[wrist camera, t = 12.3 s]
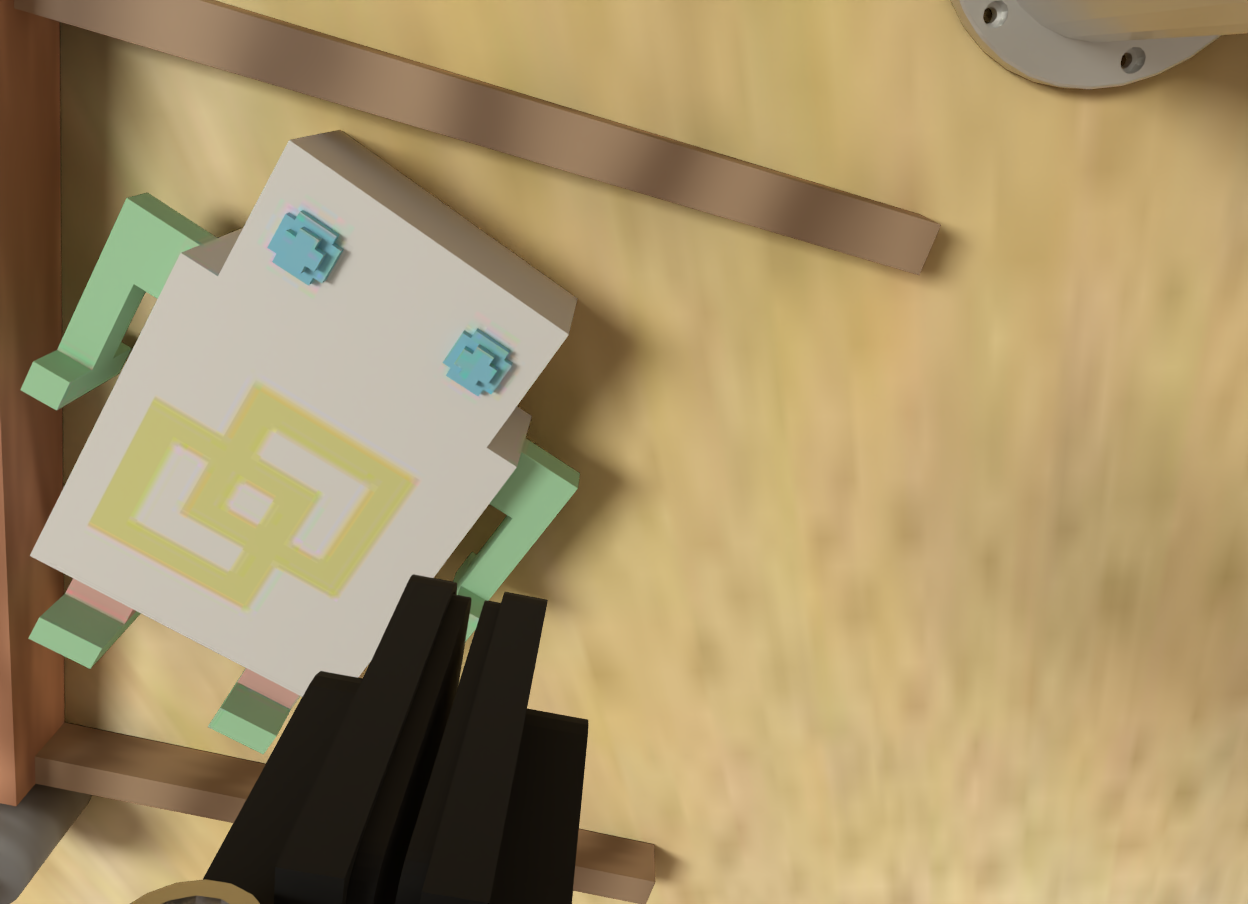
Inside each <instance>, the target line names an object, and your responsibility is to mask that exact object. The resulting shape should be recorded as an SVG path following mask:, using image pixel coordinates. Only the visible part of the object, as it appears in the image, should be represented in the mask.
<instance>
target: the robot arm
mask: <svg viewBox="0 0 1248 904" xmlns="http://www.w3.org/2000/svg"><path fill="white" fill-rule="evenodd" d="M950 1H951V3H952V5H953V7H954V9H955V11H956V13H957V15H958V17H959V19H960V21H961V23H962V25H963V27H964V28H965V29H966V30H967V32H968V33H969V34H970V35H971V37H972V38H973V39H974V40H975V42H976V43H977V44H978V45H979V47H980V48H981V49H982V50H983V51H984V52H985V53H986V54H988V55H989V56H990V57H991V58H993V59H994V60H995V61H997V62H998V63H999V64H1000V65H1002V66H1003V67H1004V68H1005V69H1007V70H1009V71H1011V72H1013V73H1015V74H1018V75H1020V76H1022V77H1024V78H1026V79H1028V80H1031V81H1033V82H1036V83H1041V84H1046V85H1051V86H1055V87H1060V88H1077V89H1097V88H1106V87H1115V86H1123V85H1127V84H1130V83H1133V82H1136V81H1140V80H1143V79H1146V78H1149V77H1153V76H1156V75H1158V74H1160V73H1162V72H1164V71H1166V70H1168V69H1170V68H1172V67H1174V66H1176V65H1178V64H1180V63H1182V62H1184V61H1186V60H1188V59H1190V58H1191V57H1193V56H1194V55H1195V54H1197V53H1198V52H1199V51H1201V50H1202V49H1204V48H1205V47H1206V46H1208V45H1209V44H1211V43H1212V42H1213V41H1215V40H1216V39H1218V38H1219V37H1220V36H1222V35H1227V34H1243V33H1248V0H950ZM987 8H989V9H990V10H991V11H992V19H991V20H990V22H988V23H987V24H986V23H985V22H984V19H983V15H984V11H985V9H987ZM1123 55H1125V57H1126V61H1125V64H1124V65H1123V66H1122V67H1121V64H1120V63H1121V59H1122V56H1123ZM547 601H548V600H545V599H540V598H535V597H530V596H524V595H519V594H514V593H509V592H505V593H504V596H503V599H502V602H501V603H497V602H492V601H487V600H485V601H484V604H483V607H482V611H481V614H480V617H479V620H478V624H477V627H476V630H475V633H474V637H473V640H472V643H471V646H470V650H469V653H468V656H467V659H466V663H465V666H464V669H463V672H462V676H461V679H460V682H459V678H460V671H461V665H462V659H463V653H464V646H465V640H466V634H467V627H468V621H469V615H470V608H471V597H466V596H461V595H457V583H456V582H451V581H446V580H441V579H436V578H430V577H425V576H420V575H415V574H413V575H412V576H411V577H410V579H409V580H408V583H407V585H406V587H405V589H404V591H403V593H402V596H401V598H400V600H399V602H398V604H397V606H396V608H395V611H394V613H393V615H392V617H391V619H390V621H389V623H388V626H387V628H386V630H385V632H384V634H383V636H382V639H381V641H380V643H379V645H378V647H377V649H376V651H375V654H374V656H373V658H372V660H371V662H370V664H369V667H368V669H367V671H366V673H365V675H364V677H363V679H362V678H357V677H352V676H346V675H341V674H335V673H330V672H324V671H320V672H319V673H317V674H316V675H315V677H314V678H313V680H312V681H311V683H310V684H309V686H308V688H307V690H306V691H305V693H304V695H303V697H302V699H301V701H300V702H299V704H298V706H297V708H296V710H295V712H294V713H293V715H292V717H291V719H290V721H289V723H288V724H287V726H286V728H285V730H284V732H283V734H282V735H281V737H280V739H279V741H278V743H277V745H276V746H275V748H274V750H273V752H272V754H271V756H270V757H269V759H268V761H267V763H266V765H265V767H264V768H263V770H262V772H261V774H260V776H259V777H258V779H257V781H256V783H255V785H254V787H253V788H252V790H251V792H250V794H249V796H248V798H247V799H246V801H245V803H244V805H243V807H242V809H241V810H240V812H239V814H238V816H237V818H236V820H235V821H234V823H233V825H232V827H231V829H230V831H229V832H228V834H227V836H226V838H225V840H224V842H223V843H222V845H221V847H220V849H219V851H218V853H217V854H216V856H215V858H214V860H213V862H212V864H211V865H210V867H209V869H208V871H207V873H206V875H205V876H204V878H203V880H196V881H187V882H179V883H174V884H171V885H169V886H166V887H163V888H160V889H158V890H155V891H152V892H149V893H147V894H145V895H143V896H142V897H140V898H139V899H137V900H135V901H134V902H132V903H130V904H572V895H573V884H574V874H575V863H576V853H577V842H578V832H579V821H580V811H581V800H582V790H583V779H584V769H585V758H586V748H587V737H588V720H587V719H581V718H576V717H570V716H565V715H559V714H554V713H548V712H543V711H537V710H532V709H527V705H528V700H529V695H530V689H531V684H532V679H533V674H534V669H535V663H536V658H537V653H538V648H539V643H540V637H541V632H542V627H543V622H544V617H545V611H546V606H547ZM458 684H459V685H458Z"/></svg>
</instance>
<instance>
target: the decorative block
mask: <svg viewBox="0 0 1248 904" xmlns="http://www.w3.org/2000/svg"><path fill="white" fill-rule="evenodd" d="M145 292H147V293H149V294H151V295H152V296H154V297H156V298H157V301H156V303H155V305H154V307H153V309H152V311H151V313H150V315H149V317H148V319H147V321H146V323H145V325H144V327H143V329H142V331H141V333H140V335H139V337H138V339H137V341H136V343H135V345H134V347H133V349H132V348H130V347H129V346H127V345H125V344H124V343H122V342H121V341H122V339H123V337H124V335H125V333H126V331H127V329H128V327H129V324H130V322H131V320H132V318H133V316H134V314H135V312H136V310H137V308H138V306H139V304H140V302H141V300H142V298H143V296H144V294H145ZM576 303H577V298H576V297H575V296H573V295H572V294H570V293H569V292H568V291H566V290H565V289H563V288H562V287H561V286H559V285H558V284H556V283H555V282H554V281H552V280H551V279H549V278H548V277H547V276H545V275H544V274H542V273H541V272H539V271H538V270H537V269H535V268H534V267H532V266H531V265H530V264H528V263H527V262H525V261H524V260H523V259H521V258H520V257H518V256H517V255H516V254H514V253H513V252H511V251H510V250H509V249H507V248H506V247H504V246H503V245H502V244H500V243H499V242H497V241H496V240H494V239H493V238H492V237H490V236H489V235H487V234H486V233H485V232H483V231H482V230H480V229H479V228H478V227H476V226H475V225H473V224H472V223H471V222H469V221H468V220H466V219H465V218H464V217H462V216H461V215H459V214H458V213H457V212H455V211H454V210H452V209H451V208H449V207H448V206H447V205H445V204H444V203H442V202H441V201H440V200H438V199H437V198H435V197H434V196H433V195H431V194H430V193H428V192H427V191H426V190H424V189H423V188H421V187H420V186H419V185H417V184H416V183H414V182H413V181H412V180H410V179H409V178H407V177H406V176H404V175H403V174H402V173H400V172H399V171H397V170H396V169H395V168H393V167H392V166H390V165H389V164H388V163H386V162H385V161H383V160H382V159H381V158H379V157H378V156H376V155H375V154H374V153H372V152H371V151H369V150H368V149H367V148H365V147H364V146H362V145H361V144H359V143H358V142H357V141H355V140H354V139H352V138H351V137H350V136H348V135H347V134H345V133H344V132H343V131H341V130H337V131H332V132H327V133H322V134H317V135H312V136H307V137H302V138H297V139H292V140H289V141H288V143H287V145H286V147H285V149H284V151H283V153H282V155H281V157H280V159H279V161H278V162H277V164H276V166H275V168H274V170H273V172H272V174H271V176H270V178H269V180H268V182H267V184H266V185H265V187H264V189H263V191H262V193H261V195H260V197H259V199H258V201H257V203H256V205H255V206H254V208H253V210H252V212H251V214H250V216H249V218H248V220H247V222H246V224H245V226H244V227H243V228H241V229H239V230H236V231H234V232H231V233H229V234H226V235H224V236H221V237H219V238H217V237H215V236H213V235H212V234H210V233H209V232H207V231H206V230H204V229H203V228H201V227H200V226H198V225H197V224H195V223H193V222H192V221H190V220H189V219H187V218H186V217H184V216H183V215H181V214H180V213H178V212H177V211H175V210H173V209H172V208H170V207H169V206H167V205H166V204H164V203H163V202H161V201H160V200H158V199H157V198H155V197H153V196H152V195H150V194H149V193H144V194H140V195H136V196H132V197H128V198H126V200H125V203H124V205H123V207H122V209H121V211H120V213H119V216H118V218H117V220H116V222H115V224H114V227H113V229H112V231H111V233H110V235H109V238H108V240H107V242H106V244H105V246H104V248H103V251H102V253H101V255H100V257H99V259H98V262H97V264H96V266H95V268H94V270H93V272H92V275H91V277H90V279H89V281H88V283H87V286H86V288H85V290H84V292H83V294H82V297H81V299H80V301H79V303H78V305H77V307H76V310H75V312H74V314H73V316H72V318H71V321H70V323H69V325H68V327H67V329H66V331H65V334H64V336H63V338H62V340H61V342H60V345H59V347H58V349H57V350H56V351H54V352H52V353H50V354H47V355H45V356H43V357H41V358H39V359H37V360H35V361H33V363H32V365H31V367H30V370H29V372H28V374H27V376H26V379H25V381H24V383H23V385H22V387H21V391H23V392H25V393H26V394H28V395H30V396H32V397H34V398H35V399H37V400H39V401H41V402H42V403H44V404H46V405H48V406H49V407H51V408H53V409H55V410H56V411H57V410H58V409H60V408H62V407H63V406H65V405H67V404H69V403H70V402H72V401H74V400H75V399H77V398H79V397H80V396H82V395H84V394H86V393H87V392H89V391H91V390H92V389H94V388H96V387H97V386H99V385H101V384H102V383H104V382H106V381H108V380H109V379H111V378H113V377H114V376H116V375H118V374H119V373H120V371H121V369H122V367H123V365H124V363H125V361H126V359H127V357H128V355H129V353H130V351H131V349H132V351H131V354H130V356H129V358H128V360H127V362H126V364H125V366H124V368H123V370H122V372H121V374H120V376H119V378H118V380H117V382H116V384H115V386H114V388H113V390H112V392H111V394H110V396H109V398H108V400H107V402H106V404H105V406H104V408H103V410H102V412H101V414H100V416H99V418H98V420H97V422H96V424H95V426H94V428H93V430H92V432H91V434H90V436H89V438H88V440H87V442H86V444H85V446H84V448H83V450H82V452H81V454H80V456H79V458H78V460H77V462H76V464H75V466H74V468H73V470H72V472H71V474H70V476H69V478H68V480H67V482H66V484H65V486H64V488H63V490H62V492H61V494H60V496H59V498H58V500H57V502H56V504H55V506H54V508H53V510H52V512H51V514H50V516H49V518H48V520H47V522H46V524H45V526H44V528H43V530H42V532H41V534H40V536H39V538H38V540H37V542H36V544H35V546H34V548H33V550H32V552H31V554H30V556H31V557H33V558H35V559H37V560H39V561H41V562H43V563H45V564H47V565H48V566H50V567H52V568H54V569H56V570H58V571H60V572H62V573H64V574H66V575H68V576H70V577H72V578H73V579H72V581H71V583H70V585H69V587H68V589H67V591H66V593H65V594H64V595H63V596H62V597H61V598H60V599H59V600H58V601H56V602H55V603H54V604H53V605H52V606H51V607H50V608H49V609H48V610H47V611H46V612H44V613H43V614H42V615H41V616H40V617H39V619H38V621H37V623H36V625H35V627H34V628H33V630H32V632H31V634H30V636H29V638H28V639H30V640H32V641H34V642H36V643H38V644H40V645H42V646H45V647H47V648H49V649H51V650H53V651H55V652H57V653H59V654H61V655H63V656H65V657H67V658H69V659H71V660H73V661H75V662H77V663H79V664H81V665H83V666H85V667H87V668H89V669H91V668H92V667H93V666H94V664H95V663H96V662H97V661H98V660H99V659H100V658H101V657H102V656H103V654H104V653H105V652H106V651H107V650H108V649H109V648H110V647H111V646H112V645H113V643H114V642H115V641H116V640H117V639H118V638H119V637H120V636H121V635H122V633H123V632H124V631H125V630H126V629H127V628H128V627H129V626H130V625H131V624H132V622H133V621H134V620H135V619H136V618H137V617H138V616H139V615H140V614H143V615H145V616H147V617H149V618H151V619H153V620H155V621H157V622H158V623H160V624H162V625H164V626H166V627H168V628H170V629H172V630H174V631H176V632H178V633H180V634H182V635H184V636H186V637H187V638H189V639H191V640H193V641H195V642H197V643H199V644H201V645H203V646H205V647H207V648H209V649H211V650H213V651H214V652H216V653H218V654H220V655H222V656H224V657H226V658H228V659H230V660H232V661H234V662H236V663H238V664H240V665H242V666H243V667H245V670H244V672H243V673H242V675H241V676H240V678H239V679H238V681H237V682H236V684H235V685H234V687H233V689H232V690H231V692H230V693H229V695H228V696H227V698H226V699H225V701H224V702H223V704H222V706H221V707H220V709H219V710H218V712H217V713H216V715H215V716H214V718H213V719H212V721H211V723H210V724H209V726H208V727H209V728H211V729H213V730H215V731H217V732H219V733H221V734H223V735H225V736H227V737H229V738H231V739H233V740H235V741H237V742H239V743H241V744H243V745H245V746H247V747H249V748H251V749H253V750H255V751H258V752H260V753H262V754H264V753H265V751H266V750H267V749H268V747H269V746H270V744H271V743H272V742H273V740H274V739H275V738H276V736H277V734H278V732H279V731H280V729H281V727H282V725H283V723H284V721H285V719H286V718H287V716H288V714H289V712H290V710H291V708H292V707H293V706H294V704H295V703H296V702H297V700H298V699H299V697H300V696H301V697H303V695H304V693H305V691H306V690H307V688H308V686H309V684H310V683H311V681H312V680H313V678H314V677H315V675H316V674H317V673H319V672H320V671H324V672H330V673H335V674H341V675H346V676H352V677H357V678H358V677H359V676H360V675H361V673H362V672H363V671H364V669H365V668H366V667H367V665H368V664H369V663H370V661H371V660H372V658H373V656H374V654H375V651H376V649H377V647H378V645H379V643H380V641H381V639H382V636H383V634H384V632H385V630H386V628H387V626H388V623H389V621H390V619H391V617H392V615H393V613H394V611H395V608H396V606H397V604H398V602H399V600H400V598H401V596H402V593H403V591H404V589H405V587H406V585H407V583H408V580H409V579H410V577H411V576H412V575H413V574H415V575H420V576H425V577H430V578H434V576H435V575H436V574H437V572H438V571H439V570H440V568H441V567H442V566H443V564H444V563H445V562H446V561H447V559H448V558H449V557H450V555H451V554H452V553H453V551H454V550H455V549H456V547H457V546H458V545H459V543H460V542H461V541H462V539H463V538H464V537H465V535H466V534H467V533H468V531H469V530H470V529H471V527H472V526H473V525H474V523H475V522H476V521H477V519H478V518H479V517H480V515H481V514H482V513H483V511H484V510H485V509H486V507H487V506H488V505H489V504H490V505H492V506H493V507H495V508H497V509H498V510H500V511H502V512H503V513H505V514H506V515H507V516H506V517H505V519H504V520H503V521H502V523H501V524H500V525H499V527H498V528H497V529H496V530H495V532H494V533H493V534H492V536H491V537H490V538H489V540H488V541H487V542H486V543H485V545H484V546H483V547H482V549H481V550H480V551H479V553H478V554H477V555H476V554H475V553H473V552H471V554H470V555H469V556H468V558H467V559H466V560H465V562H464V563H463V564H462V565H461V567H460V568H459V569H458V571H457V572H456V575H455V578H454V581H453V582H456V583H457V595H461V596H466V597H471V608H470V615H469V621H468V627H467V634H466V640H467V639H468V638H469V637H470V635H471V634H472V633H473V632H474V631H475V629H476V627H477V624H478V620H479V617H480V614H481V611H482V607H483V604H484V601H485V600H487V601H488V600H489V599H490V598H491V597H492V595H493V594H494V593H495V592H496V590H497V589H498V588H499V587H500V585H501V584H502V583H503V582H504V580H505V579H506V578H507V577H508V575H509V574H510V573H511V572H512V570H513V569H514V568H515V567H516V565H517V564H518V563H519V562H520V560H521V559H522V558H523V557H524V555H525V554H526V553H527V552H528V550H529V549H530V548H531V547H532V545H533V544H534V543H535V542H536V540H537V539H538V538H539V537H540V535H541V534H542V533H543V532H544V530H545V529H546V528H547V527H548V525H549V524H550V523H551V522H552V520H553V519H554V518H555V517H556V515H557V514H558V513H559V512H560V510H561V509H562V508H563V507H564V505H565V504H566V503H567V502H568V500H569V499H570V498H571V497H572V495H573V494H574V493H575V492H576V490H577V489H578V484H579V476H580V473H578V472H577V471H575V470H574V469H572V468H571V467H569V466H568V465H566V464H565V463H563V462H562V461H560V460H558V459H557V458H555V457H554V456H552V455H551V454H549V453H548V452H546V451H545V450H543V449H541V448H540V447H538V446H537V445H535V444H534V443H532V442H531V441H529V440H528V439H526V434H527V431H528V427H529V424H530V420H531V417H532V416H531V415H529V414H528V413H526V412H525V411H523V410H522V409H520V408H519V407H517V405H518V404H519V402H520V401H521V400H522V398H523V397H524V396H525V394H526V393H527V391H528V390H529V389H530V387H531V386H532V385H533V383H534V382H535V380H536V379H537V378H538V376H539V375H540V374H541V372H542V371H543V369H544V368H545V367H546V365H547V364H548V363H549V361H550V360H551V358H552V357H553V356H554V354H555V353H556V352H557V350H558V349H559V347H560V346H561V345H562V343H563V342H564V341H565V339H566V338H567V336H568V335H569V332H570V328H571V323H572V319H573V315H574V311H575V307H576ZM466 640H465V642H466Z"/></svg>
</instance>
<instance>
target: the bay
mask: <svg viewBox="0 0 1248 904" xmlns="http://www.w3.org/2000/svg"><path fill="white" fill-rule="evenodd" d="M60 22H62V23H66V24H69V25H73V26H76V27H79V28H83V29H86V30H90V31H93V32H96V33H100V34H103V35H107V36H110V37H113V38H117V39H120V40H124V41H127V42H130V43H134V44H137V45H140V46H144V47H147V48H151V49H154V50H157V51H161V52H164V53H168V54H171V55H174V56H178V57H181V58H185V59H188V60H191V61H195V62H198V63H201V64H205V65H208V66H212V67H215V68H218V69H222V70H225V71H229V72H232V73H235V74H239V75H242V76H246V77H249V78H252V79H256V80H259V81H263V82H266V83H269V84H273V85H276V86H279V87H283V88H286V89H290V90H293V91H296V92H300V93H303V94H307V95H310V96H313V97H317V98H320V99H324V100H327V101H330V102H334V103H337V104H340V105H344V106H347V107H351V108H354V109H357V110H361V111H364V112H368V113H371V114H374V115H378V116H381V117H385V118H388V119H391V120H395V121H398V122H402V123H405V124H408V125H412V126H415V127H418V128H422V129H425V130H429V131H432V132H435V133H439V134H442V135H446V136H449V137H452V138H456V139H459V140H463V141H466V142H469V143H473V144H476V145H479V146H483V147H486V148H490V149H493V150H496V151H500V152H503V153H507V154H510V155H513V156H517V157H520V158H524V159H527V160H530V161H534V162H537V163H541V164H544V165H547V166H551V167H554V168H557V169H561V170H564V171H568V172H571V173H574V174H578V175H581V176H585V177H588V178H591V179H595V180H598V181H602V182H605V183H608V184H612V185H615V186H618V187H622V188H625V189H629V190H632V191H635V192H639V193H642V194H646V195H649V196H652V197H656V198H659V199H663V200H666V201H669V202H673V203H676V204H680V205H683V206H686V207H690V208H693V209H696V210H700V211H703V212H707V213H710V214H713V215H717V216H720V217H724V218H727V219H730V220H734V221H737V222H741V223H744V224H747V225H751V226H754V227H757V228H761V229H764V230H768V231H771V232H774V233H778V234H781V235H785V236H788V237H791V238H795V239H798V240H802V241H805V242H808V243H812V244H815V245H819V246H822V247H825V248H829V249H832V250H835V251H839V252H842V253H846V254H849V255H852V256H856V257H859V258H863V259H866V260H869V261H873V262H876V263H880V264H883V265H886V266H890V267H893V268H896V269H900V270H903V271H907V272H910V273H913V274H917V275H920V272H921V270H922V268H923V265H924V263H925V261H926V258H927V256H928V254H929V252H930V249H931V247H932V245H933V242H934V240H935V238H936V235H937V233H938V231H939V229H940V226H941V225H940V224H938V223H936V222H934V221H932V220H930V219H928V218H926V217H924V216H922V215H920V214H917V213H914V212H910V211H907V210H904V209H901V208H897V207H894V206H891V205H887V204H884V203H881V202H877V201H874V200H871V199H868V198H864V197H861V196H858V195H854V194H851V193H848V192H845V191H841V190H838V189H835V188H831V187H828V186H825V185H821V184H818V183H815V182H812V181H808V180H805V179H802V178H798V177H795V176H792V175H789V174H785V173H782V172H779V171H775V170H772V169H769V168H765V167H762V166H759V165H756V164H752V163H749V162H746V161H742V160H739V159H736V158H732V157H729V156H726V155H723V154H719V153H716V152H713V151H709V150H706V149H703V148H700V147H696V146H693V145H690V144H686V143H683V142H680V141H676V140H673V139H670V138H667V137H663V136H660V135H657V134H653V133H650V132H647V131H644V130H640V129H637V128H634V127H630V126H627V125H624V124H620V123H617V122H614V121H611V120H607V119H604V118H601V117H597V116H594V115H591V114H588V113H584V112H581V111H578V110H574V109H571V108H568V107H564V106H561V105H558V104H555V103H551V102H548V101H545V100H541V99H538V98H535V97H532V96H528V95H525V94H522V93H518V92H515V91H512V90H508V89H505V88H502V87H499V86H495V85H492V84H489V83H485V82H482V81H479V80H476V79H472V78H469V77H466V76H462V75H459V74H456V73H452V72H449V71H446V70H443V69H439V68H436V67H433V66H429V65H426V64H423V63H420V62H416V61H413V60H410V59H406V58H403V57H400V56H396V55H393V54H390V53H387V52H383V51H380V50H377V49H373V48H370V47H367V46H364V45H360V44H357V43H354V42H350V41H347V40H344V39H340V38H337V37H334V36H331V35H327V34H324V33H321V32H317V31H314V30H311V29H308V28H304V27H301V26H298V25H294V24H291V23H288V22H284V21H281V20H278V19H275V18H271V17H268V16H265V15H261V14H258V13H255V12H252V11H248V10H245V9H242V8H238V7H235V6H232V5H228V4H225V3H222V2H219V1H215V0H0V904H10V903H12V902H13V901H15V900H16V899H17V898H18V897H19V895H20V894H21V893H22V891H23V890H24V888H25V887H26V886H27V884H28V883H29V882H30V880H31V879H32V878H33V876H34V875H35V874H36V872H37V871H38V870H39V868H40V867H41V866H42V864H43V863H44V862H45V860H46V859H47V858H48V856H49V855H50V853H51V852H52V851H53V849H54V848H55V847H56V845H57V844H58V843H59V841H60V840H61V839H62V837H63V836H64V835H65V833H66V832H67V831H68V829H69V828H70V827H71V825H72V824H73V822H74V821H75V820H76V818H77V817H78V816H79V814H80V813H81V812H82V810H83V809H84V808H85V806H86V805H87V804H88V802H89V800H90V798H91V795H95V796H100V797H105V798H110V799H115V800H120V801H125V802H130V803H135V804H140V805H146V806H151V807H156V808H161V809H166V810H171V811H176V812H181V813H186V814H191V815H196V816H201V817H206V818H211V819H216V820H221V821H226V822H231V823H234V821H235V820H236V818H237V816H238V814H239V812H240V810H241V809H242V807H243V805H244V803H245V801H246V799H247V798H248V796H249V794H250V792H251V790H252V788H253V787H254V785H255V783H256V781H257V779H258V777H259V776H260V774H261V772H262V770H263V768H264V767H265V765H266V764H263V763H258V762H253V761H248V760H243V759H239V758H234V757H229V756H224V755H219V754H214V753H210V752H205V751H200V750H195V749H190V748H185V747H181V746H176V745H171V744H166V743H161V742H157V741H152V740H147V739H142V738H137V737H132V736H128V735H123V734H118V733H113V732H108V731H103V730H99V729H94V728H89V727H84V726H79V725H75V724H70V723H65V722H64V656H63V655H61V654H59V653H57V652H55V651H53V650H51V649H49V648H47V647H45V646H42V645H40V644H38V643H36V642H34V641H32V640H30V639H28V638H29V636H30V634H31V632H32V630H33V628H34V627H35V625H36V623H37V621H38V619H39V617H40V616H41V615H42V614H43V613H44V612H46V611H47V610H48V609H49V608H50V607H51V606H52V605H53V604H54V603H55V602H56V601H58V600H59V599H60V598H61V597H62V596H63V595H64V578H63V573H62V572H60V571H58V570H56V569H54V568H52V567H50V566H48V565H47V564H45V563H43V562H41V561H39V560H37V559H35V558H33V557H31V556H30V554H31V552H32V550H33V548H34V546H35V544H36V542H37V540H38V538H39V536H40V534H41V532H42V530H43V528H44V526H45V524H46V522H47V520H48V518H49V516H50V514H51V512H52V510H53V508H54V506H55V504H56V502H57V500H58V498H59V496H60V494H61V492H62V490H63V434H62V408H60V409H58V410H57V411H56V410H55V409H53V408H51V407H49V406H48V405H46V404H44V403H42V402H41V401H39V400H37V399H35V398H34V397H32V396H30V395H28V394H26V393H25V392H23V391H21V387H22V385H23V383H24V381H25V379H26V376H27V374H28V372H29V370H30V367H31V365H32V363H33V361H35V360H37V359H39V358H41V357H43V356H45V355H47V354H50V353H52V352H54V351H56V350H57V349H58V347H59V345H60V342H61V340H62V290H61V146H60ZM654 884H655V855H654V844H649V843H644V842H639V841H634V840H629V839H625V838H620V837H615V836H610V835H605V834H600V833H596V832H591V831H586V830H581V829H579V832H578V842H577V853H576V863H575V874H574V884H573V891H578V892H583V893H588V894H593V895H598V896H603V897H608V898H613V899H618V900H623V901H628V902H633V903H638V904H646V902H647V900H648V898H649V895H650V893H651V891H652V889H653V886H654Z"/></svg>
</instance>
